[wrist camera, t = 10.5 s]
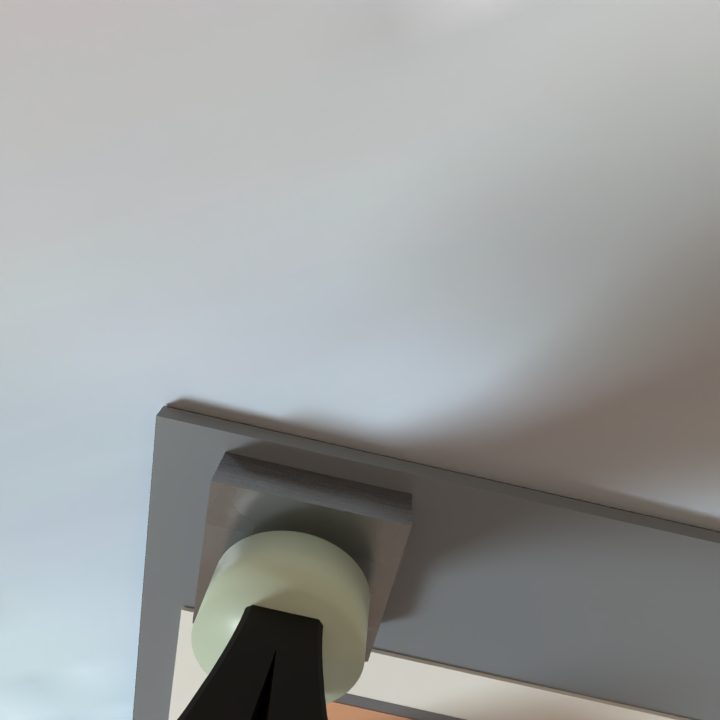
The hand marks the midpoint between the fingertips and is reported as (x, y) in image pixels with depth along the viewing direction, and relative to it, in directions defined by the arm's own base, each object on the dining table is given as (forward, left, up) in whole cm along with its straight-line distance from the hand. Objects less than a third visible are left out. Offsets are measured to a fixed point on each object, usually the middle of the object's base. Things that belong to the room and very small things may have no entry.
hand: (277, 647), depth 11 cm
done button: (0, 0, -2) cm, 2 cm away
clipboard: (-4, +4, -3) cm, 6 cm away
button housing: (0, 0, -3) cm, 3 cm away
